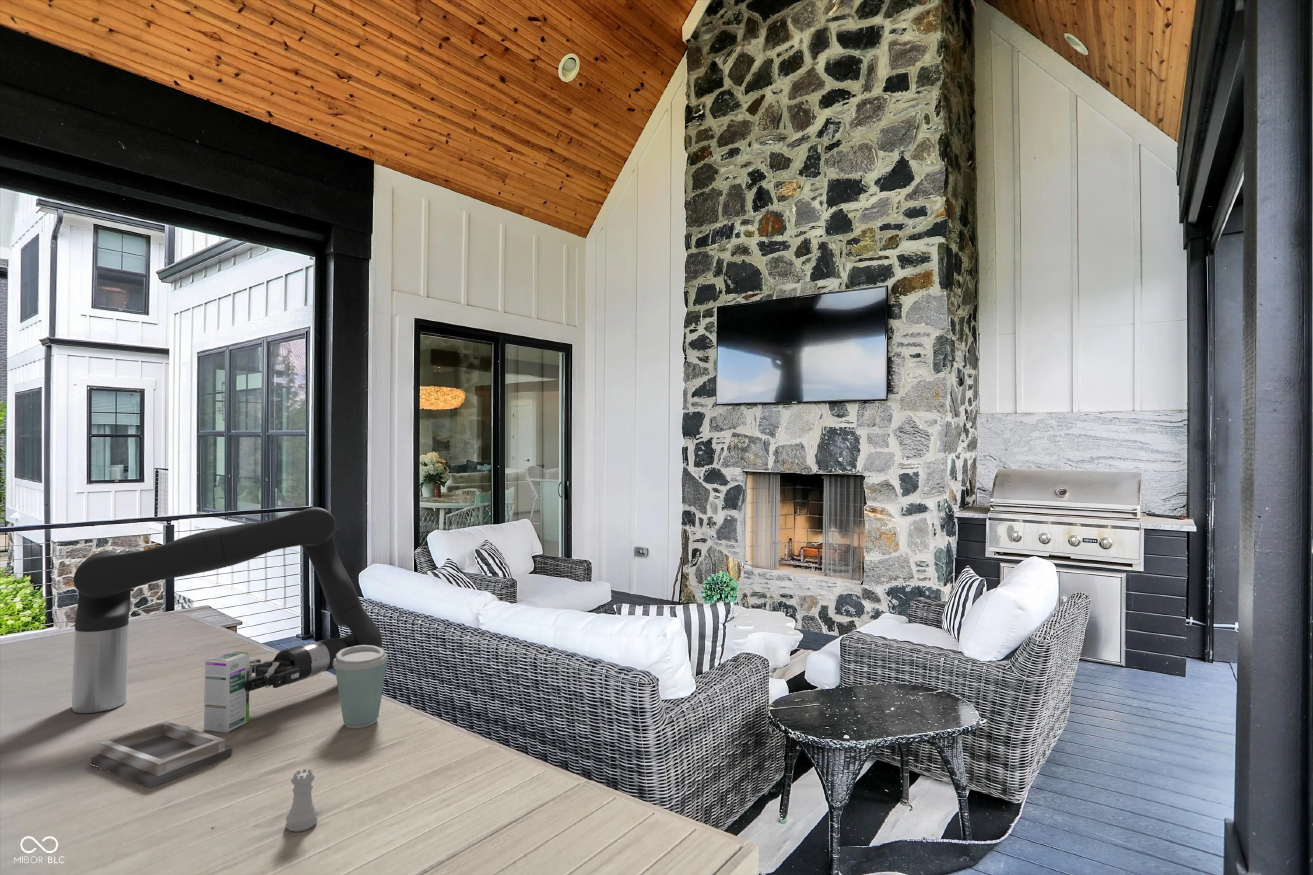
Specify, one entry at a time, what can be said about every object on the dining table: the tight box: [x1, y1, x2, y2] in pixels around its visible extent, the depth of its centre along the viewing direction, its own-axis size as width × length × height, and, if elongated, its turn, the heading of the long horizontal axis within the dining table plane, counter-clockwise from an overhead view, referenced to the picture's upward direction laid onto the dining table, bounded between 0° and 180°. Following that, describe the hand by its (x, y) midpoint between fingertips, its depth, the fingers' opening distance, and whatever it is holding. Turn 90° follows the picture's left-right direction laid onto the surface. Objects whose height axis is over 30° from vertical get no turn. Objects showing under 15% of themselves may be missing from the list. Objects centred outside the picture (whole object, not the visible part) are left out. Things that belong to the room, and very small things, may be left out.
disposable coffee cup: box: [333, 645, 389, 729], centre depth 147 cm, size 11×11×15 cm
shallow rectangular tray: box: [90, 720, 233, 789], centre depth 128 cm, size 18×14×4 cm
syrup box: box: [203, 651, 251, 734], centre depth 144 cm, size 6×6×14 cm
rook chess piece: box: [285, 768, 319, 833], centre depth 107 cm, size 4×4×8 cm
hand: (232, 682), depth 145 cm, fingers open, 8 cm apart
